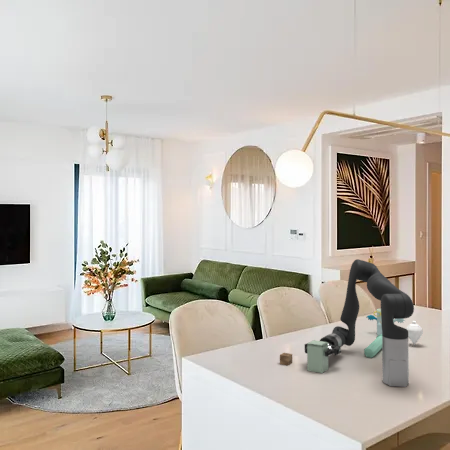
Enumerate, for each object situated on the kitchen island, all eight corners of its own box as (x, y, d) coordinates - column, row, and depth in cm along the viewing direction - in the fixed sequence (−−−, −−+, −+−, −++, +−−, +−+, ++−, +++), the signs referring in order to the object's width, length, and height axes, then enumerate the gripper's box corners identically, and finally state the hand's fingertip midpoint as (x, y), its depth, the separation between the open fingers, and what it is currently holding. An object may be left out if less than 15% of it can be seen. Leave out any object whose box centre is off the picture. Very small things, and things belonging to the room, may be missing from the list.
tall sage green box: (328, 368, 193) (328, 342, 193) (322, 373, 188) (322, 345, 188) (313, 366, 197) (313, 340, 196) (307, 370, 191) (307, 343, 191)
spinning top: (408, 342, 233) (408, 318, 233) (425, 345, 228) (424, 320, 228) (403, 346, 227) (403, 321, 227) (420, 348, 222) (419, 323, 222)
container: (372, 345, 207) (385, 332, 228) (359, 348, 210) (374, 335, 231) (377, 358, 206) (390, 344, 227) (364, 361, 209) (379, 347, 230)
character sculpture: (363, 335, 249) (363, 310, 249) (368, 331, 259) (368, 306, 259) (403, 339, 239) (402, 313, 239) (406, 335, 249) (406, 309, 249)
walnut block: (292, 363, 201) (292, 354, 201) (288, 365, 198) (288, 356, 198) (283, 361, 204) (283, 352, 204) (279, 364, 200) (279, 354, 200)
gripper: (314, 333, 208) (299, 341, 194) (346, 337, 200) (332, 345, 186) (315, 350, 208) (299, 359, 194) (346, 354, 200) (332, 364, 186)
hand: (315, 352), depth 190 cm, fingers open, 8 cm apart
